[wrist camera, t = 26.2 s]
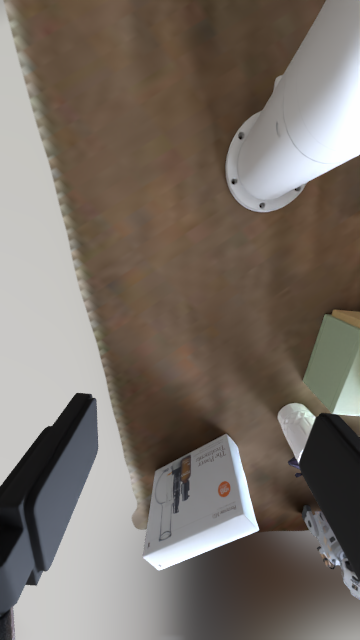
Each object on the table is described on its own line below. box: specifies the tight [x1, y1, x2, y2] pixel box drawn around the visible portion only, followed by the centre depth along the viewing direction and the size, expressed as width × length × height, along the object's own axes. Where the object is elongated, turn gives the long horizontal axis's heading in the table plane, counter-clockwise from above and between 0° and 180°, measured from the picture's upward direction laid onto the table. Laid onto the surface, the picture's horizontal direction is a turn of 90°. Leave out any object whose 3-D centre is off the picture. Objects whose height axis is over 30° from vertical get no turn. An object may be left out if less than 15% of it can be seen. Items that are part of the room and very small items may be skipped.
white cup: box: [277, 403, 316, 464], centre depth 42 cm, size 8×8×10 cm
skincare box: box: [143, 434, 259, 570], centre depth 43 cm, size 21×6×16 cm, turn 127°
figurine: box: [302, 505, 360, 600], centre depth 49 cm, size 9×12×15 cm
